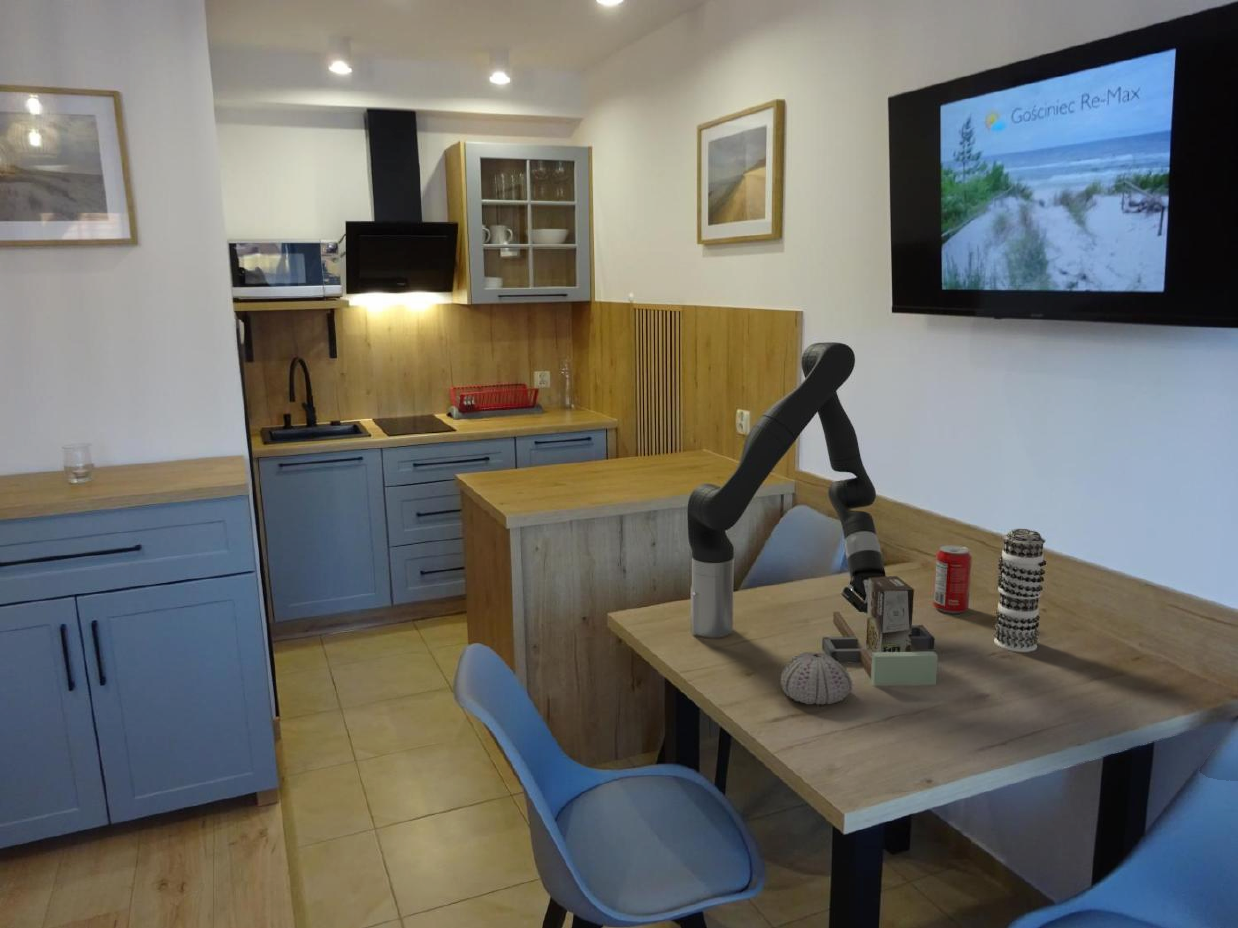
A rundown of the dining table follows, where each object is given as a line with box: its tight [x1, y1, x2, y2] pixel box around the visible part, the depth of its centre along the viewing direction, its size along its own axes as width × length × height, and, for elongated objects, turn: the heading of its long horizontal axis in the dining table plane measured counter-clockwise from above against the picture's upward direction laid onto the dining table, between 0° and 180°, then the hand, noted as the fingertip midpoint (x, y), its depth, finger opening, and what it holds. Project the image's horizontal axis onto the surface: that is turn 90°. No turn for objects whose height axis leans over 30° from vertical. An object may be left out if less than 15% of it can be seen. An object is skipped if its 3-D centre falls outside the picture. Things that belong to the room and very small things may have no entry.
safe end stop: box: [870, 651, 938, 687], centre depth 171 cm, size 12×2×6 cm, turn 90°
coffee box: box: [865, 575, 915, 656], centre depth 182 cm, size 9×6×16 cm
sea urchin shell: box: [780, 651, 854, 706], centre depth 167 cm, size 13×14×8 cm
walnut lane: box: [832, 611, 918, 679], centre depth 187 cm, size 11×32×2 cm, turn 1°
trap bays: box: [821, 624, 935, 664], centre depth 187 cm, size 23×13×2 cm, turn 90°
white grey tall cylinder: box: [993, 528, 1047, 653], centre depth 187 cm, size 9×9×25 cm
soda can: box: [932, 544, 973, 615], centre depth 208 cm, size 8×8×15 cm
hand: (878, 628), depth 188 cm, fingers closed
